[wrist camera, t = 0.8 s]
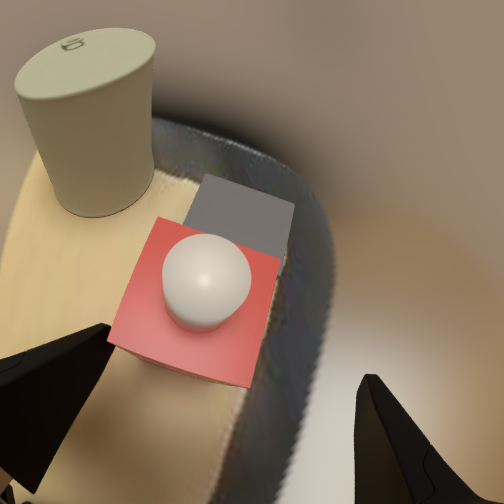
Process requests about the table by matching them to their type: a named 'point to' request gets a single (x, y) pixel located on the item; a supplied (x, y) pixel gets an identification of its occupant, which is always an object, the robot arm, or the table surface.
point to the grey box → (242, 216)
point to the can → (92, 117)
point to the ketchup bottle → (196, 305)
